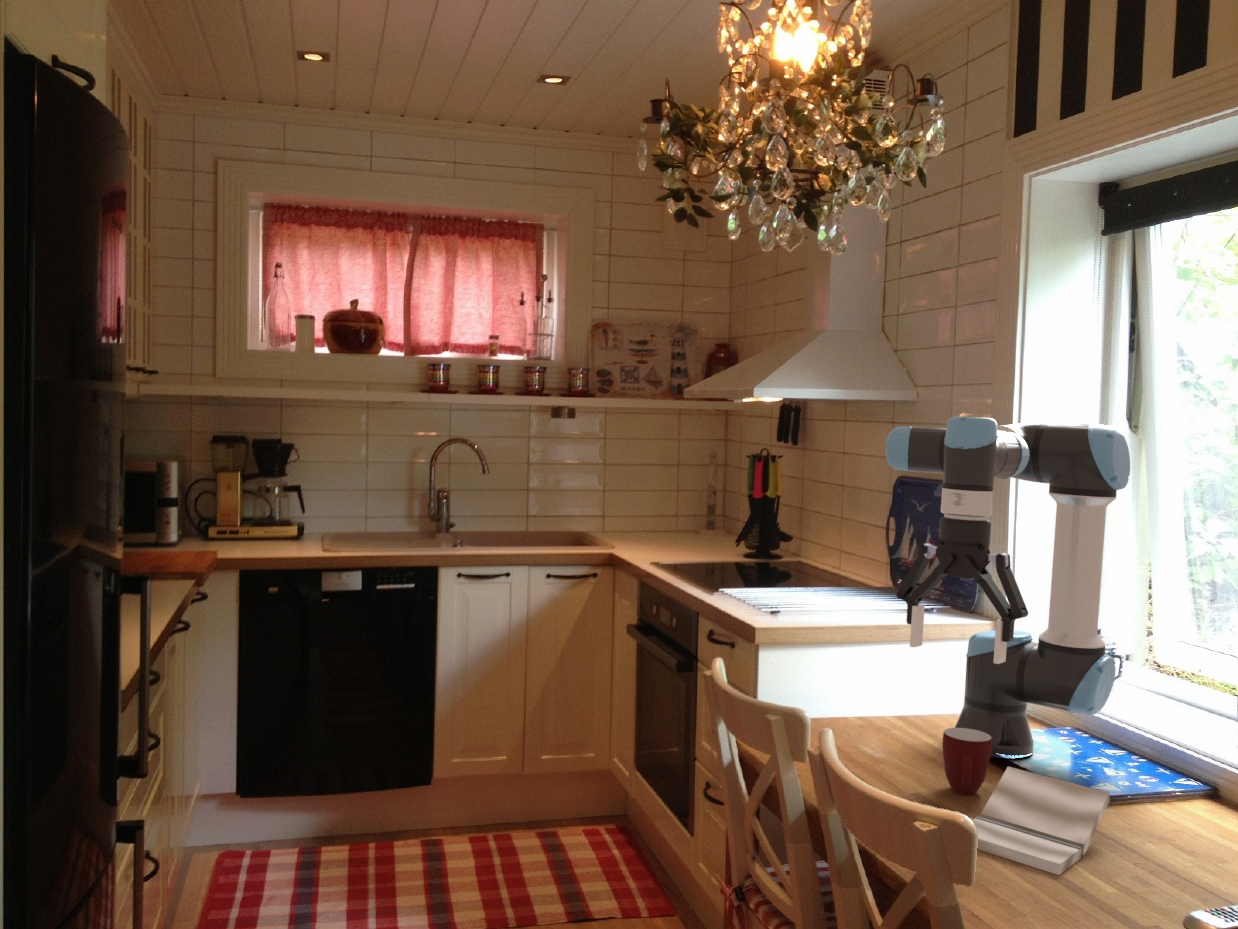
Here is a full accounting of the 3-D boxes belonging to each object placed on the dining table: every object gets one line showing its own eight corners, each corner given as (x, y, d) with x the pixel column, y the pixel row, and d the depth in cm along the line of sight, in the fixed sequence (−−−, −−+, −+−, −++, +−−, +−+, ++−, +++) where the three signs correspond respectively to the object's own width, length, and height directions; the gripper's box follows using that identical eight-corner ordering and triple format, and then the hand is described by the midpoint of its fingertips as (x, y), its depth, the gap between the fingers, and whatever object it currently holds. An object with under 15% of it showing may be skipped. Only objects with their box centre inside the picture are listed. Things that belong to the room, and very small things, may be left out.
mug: (995, 807, 180) (999, 748, 180) (945, 802, 181) (949, 743, 181) (983, 785, 191) (987, 730, 190) (936, 781, 192) (940, 725, 191)
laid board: (977, 826, 171) (977, 816, 171) (1080, 858, 160) (1081, 847, 160) (952, 841, 164) (953, 830, 164) (1059, 875, 154) (1059, 863, 154)
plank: (1009, 773, 179) (1007, 766, 178) (1110, 800, 168) (1108, 792, 168) (980, 824, 172) (978, 817, 171) (1083, 856, 161) (1082, 848, 160)
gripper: (880, 510, 171) (872, 642, 172) (1037, 527, 155) (1027, 673, 156) (902, 508, 177) (894, 636, 178) (1056, 524, 160) (1046, 666, 161)
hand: (956, 654), depth 167 cm, fingers open, 13 cm apart
